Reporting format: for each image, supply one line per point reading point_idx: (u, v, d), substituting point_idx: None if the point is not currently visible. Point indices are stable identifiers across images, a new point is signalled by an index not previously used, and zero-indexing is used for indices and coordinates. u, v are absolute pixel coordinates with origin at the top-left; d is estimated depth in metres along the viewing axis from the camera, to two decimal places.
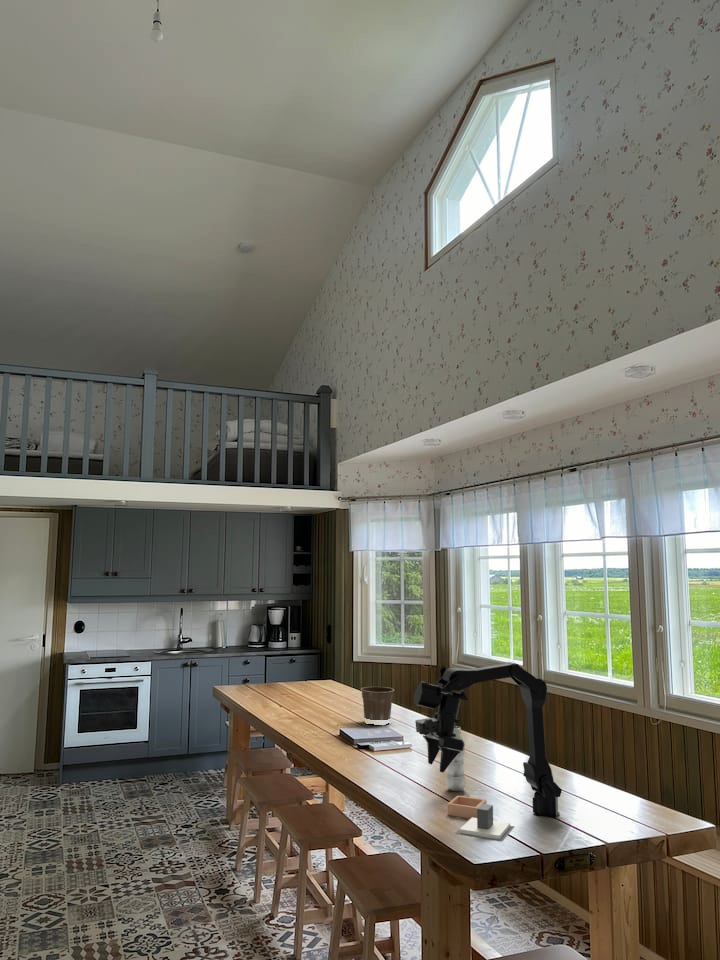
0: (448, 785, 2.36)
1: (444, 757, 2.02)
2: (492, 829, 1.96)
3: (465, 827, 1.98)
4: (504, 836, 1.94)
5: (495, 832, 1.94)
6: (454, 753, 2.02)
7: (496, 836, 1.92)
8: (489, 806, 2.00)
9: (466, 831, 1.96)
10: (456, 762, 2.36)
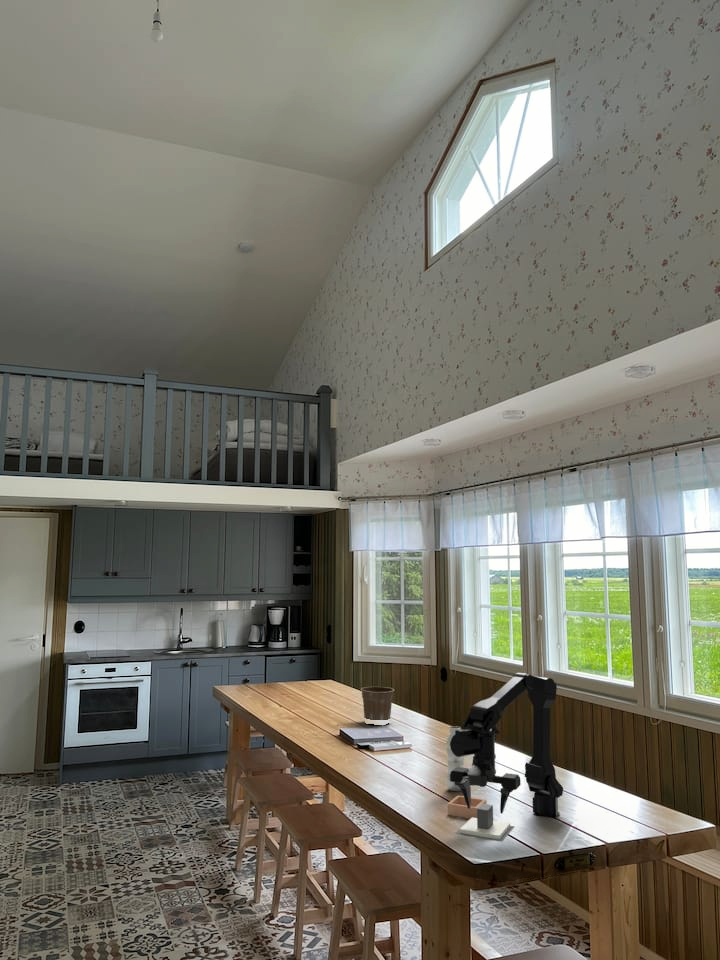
0: (448, 785, 2.36)
1: None
2: (492, 829, 1.96)
3: (465, 827, 1.98)
4: (504, 836, 1.94)
5: (495, 832, 1.94)
6: None
7: (496, 836, 1.92)
8: (489, 806, 2.00)
9: (466, 831, 1.96)
10: (456, 762, 2.36)
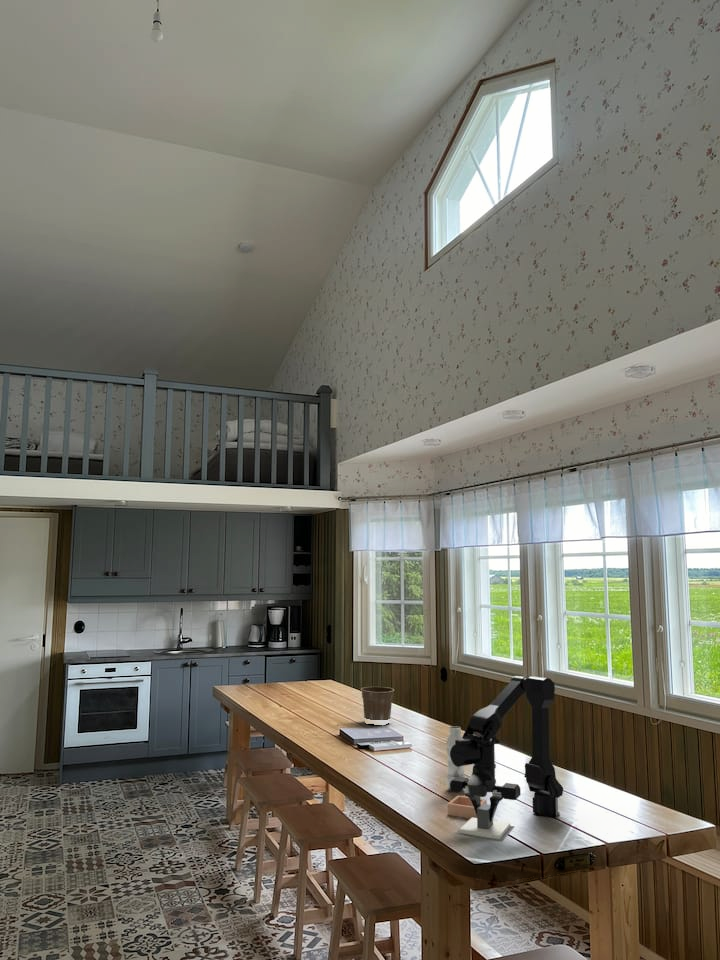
0: (448, 785, 2.36)
1: (494, 806, 1.98)
2: (492, 829, 1.96)
3: (465, 827, 1.98)
4: (504, 836, 1.94)
5: (495, 832, 1.94)
6: None
7: (496, 836, 1.92)
8: (489, 806, 2.00)
9: (466, 831, 1.96)
10: None
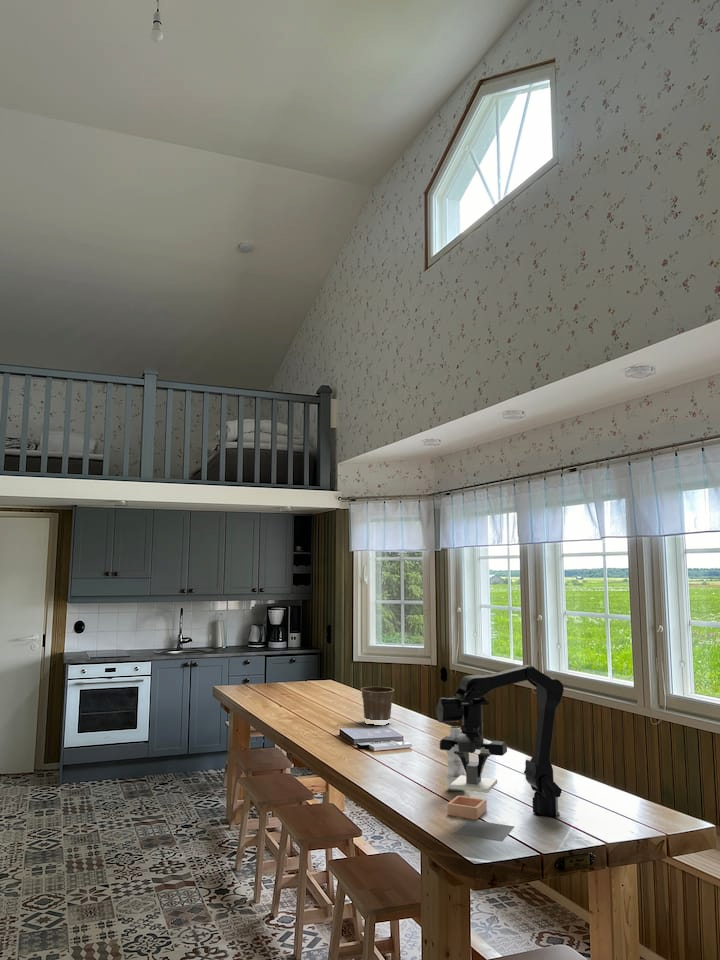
0: (448, 785, 2.36)
1: (482, 763, 2.08)
2: (480, 784, 2.06)
3: (455, 783, 2.07)
4: (504, 836, 1.94)
5: (483, 787, 2.04)
6: None
7: (484, 790, 2.02)
8: (477, 763, 2.10)
9: (456, 786, 2.05)
10: (456, 762, 2.36)
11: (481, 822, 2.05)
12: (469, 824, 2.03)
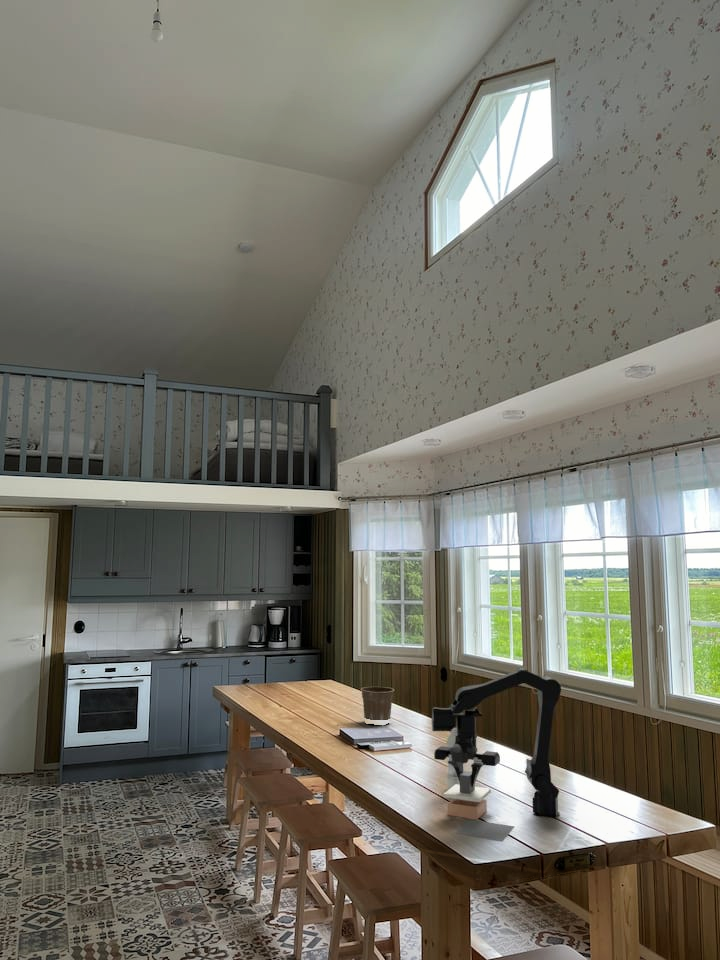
0: (448, 785, 2.36)
1: (476, 773, 2.13)
2: (473, 793, 2.11)
3: (448, 792, 2.13)
4: (504, 836, 1.94)
5: (476, 796, 2.09)
6: None
7: (477, 799, 2.07)
8: (471, 773, 2.15)
9: (449, 795, 2.11)
10: None
11: (481, 822, 2.05)
12: (469, 824, 2.03)
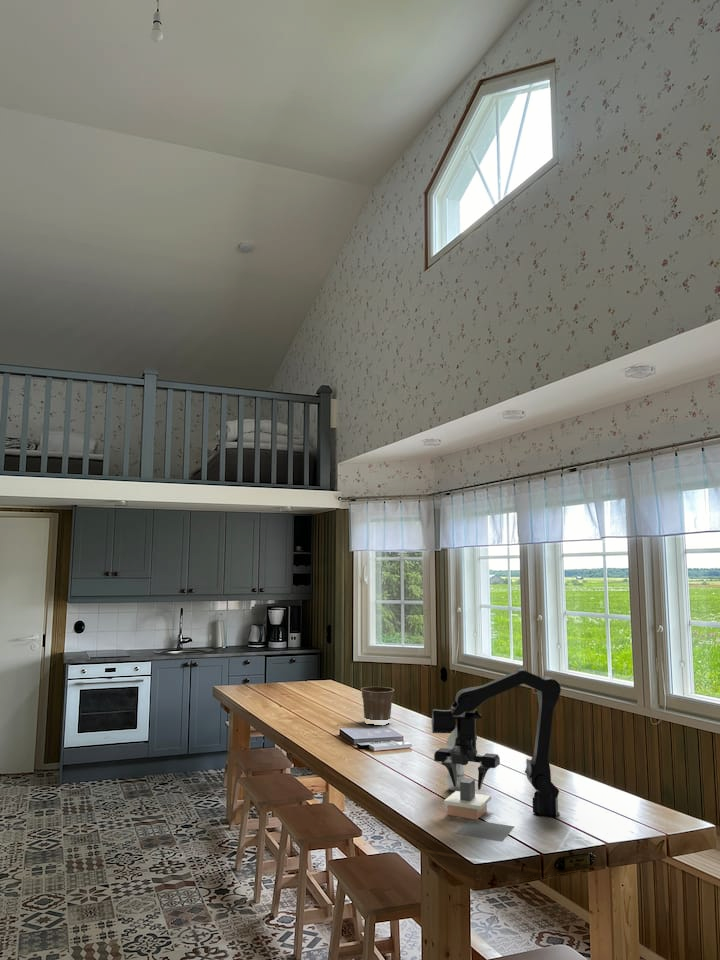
0: (448, 785, 2.36)
1: (482, 776, 2.12)
2: (474, 801, 2.11)
3: (449, 799, 2.13)
4: (504, 836, 1.94)
5: (477, 803, 2.09)
6: None
7: (477, 807, 2.07)
8: (471, 780, 2.15)
9: (450, 802, 2.10)
10: None
11: (481, 822, 2.05)
12: (469, 824, 2.03)
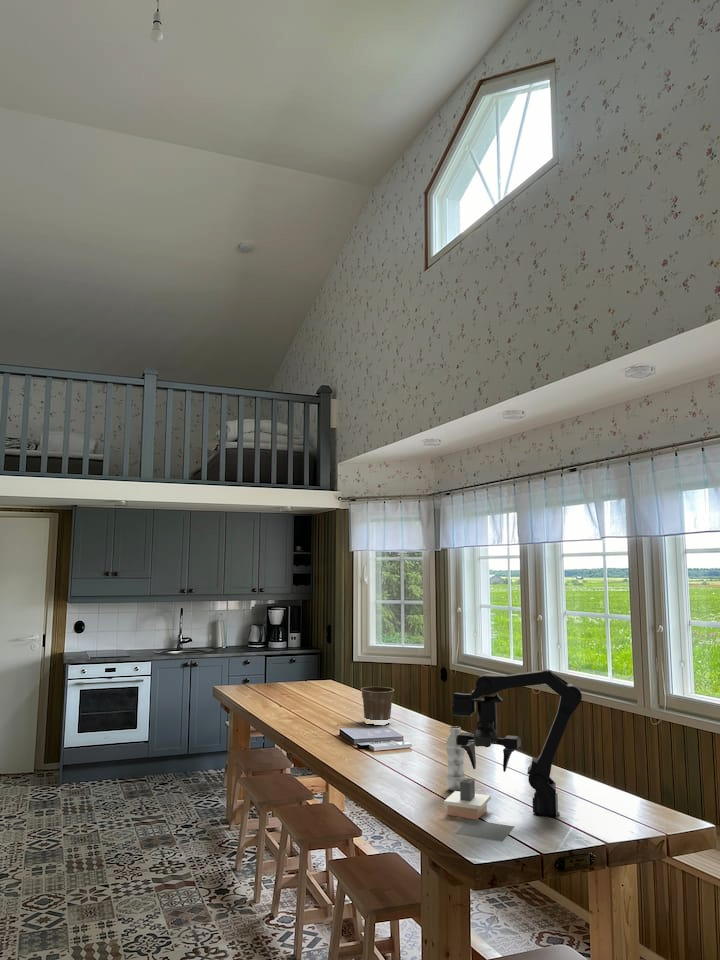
0: (448, 785, 2.36)
1: (507, 757, 2.16)
2: (474, 801, 2.11)
3: (449, 799, 2.12)
4: (504, 836, 1.94)
5: (477, 803, 2.09)
6: None
7: (478, 806, 2.07)
8: (471, 780, 2.15)
9: (450, 803, 2.10)
10: (456, 762, 2.36)
11: (481, 822, 2.05)
12: (469, 824, 2.03)
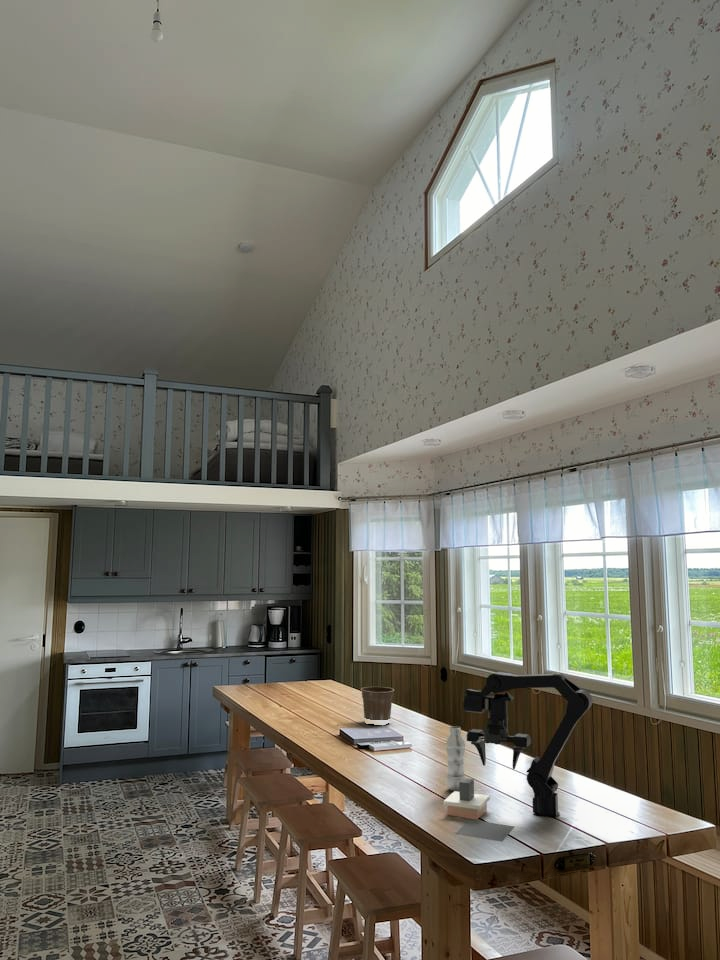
0: (448, 785, 2.36)
1: (517, 755, 2.18)
2: (473, 801, 2.11)
3: (448, 799, 2.12)
4: (504, 836, 1.94)
5: (476, 803, 2.09)
6: None
7: (477, 806, 2.07)
8: (470, 780, 2.15)
9: (449, 803, 2.10)
10: (456, 762, 2.36)
11: (481, 822, 2.05)
12: (469, 824, 2.03)
